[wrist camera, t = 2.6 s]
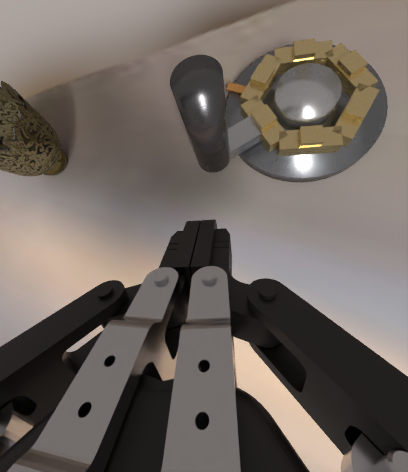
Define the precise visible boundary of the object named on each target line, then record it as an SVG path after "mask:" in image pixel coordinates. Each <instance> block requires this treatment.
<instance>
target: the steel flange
mask: <svg viewBox="0 0 408 472" xmlns="http://www.w3.org/2000/svg"><path fill="white" fill-rule="evenodd" d="M290 46H293V45H288V46H284V47H290ZM332 47H333V48H334V47H335V46H334V45H332ZM281 48H283V47H281ZM350 52H351V51H350ZM267 54H269V55H272V56H273V55H274V50H273V51H271V52H269V53H267ZM265 55H266V54H265ZM265 55H263V56H261V57H260V58H258V59H257V60H256V61H254V62H253V63H252V64H250V65H249V66H248V67H247V68H246V69H245V70H244V71H243V72H242V73H241V75H240V76H239V77H238V79H237V80H236V82H235V83H232V82H229V84H228V86H227V88H226V90H229V91H230V94H229V97H228V100H227V105H226V115H227V127H228V129H229V128H230V127H232V126H234V125H235V124H237V123H239V122H240V121H242V120H243V119H244V118H243V117H242V115H241V106H240V97H241V95H242V93H243V92H244V90H245V88H246V87H247V85H248V83H249V82H250V78H251V76H252V74H253V73H254V71H255V69H256V68H257V66H258V65H259V63H261V62H262V60H263V59H264V57H265ZM366 68H367V69H368V70H369V72H370V73H371V74H372V75H373V76H374V77H375V78H376V79H377V80H378V82H377V84H376V85H375V86H374V88H377V89H380V90H379V92H378V94H377V96H376V98H375V99H374V101H373V103H372V105H371V107H370V109H369V110H368V112H367V114H366V116H365V118H364V119H363V121H362V123H361V125H360V127H359V129H358V130H357V132H356V134H355V136H354V138H353V139H352V141H351V142H350V143H349V144H348V145H347V147H344V146H342V147H341V148H340V149H339V151H338V152H335V153H321V154H307V155H293V156H279V157H278V155H277V148H276V149H274V150H273V151H271V152H268V151H267V150H266V148H265V147H264V146H263V144H262V143H261V141H260V142H258V143H257V144H255V145H253V146H252V147H250V148H248V149H247V150H245V151H243V152H242V153H240V154H238V155H239V156H240V158H241V159H242V160H243V161H244V162H245V163H246V164H248V165H249V166H250V167H252V168H253V169H254V170H256V171H258V172H260V173H261V174H263V175H266V176H268V177H271V178H274V179H278V180H282V181H289V182H310V181H317V180H321V179H325V178H328V177H331V176H334V175H336V174H338V173H340V172H342V171H344V170H346V169H347V168H349V167H350V166H352V165H353V164H355V163H356V162H357V161H358V160H359V159H360V158H361V157H362V156H363V155H365V154H366V153H367V152H368V150H369V149H370V148H371V147H372V146H373V145H374V144H375V142H376V140H377V139H378V137H379V136H380V134H381V132H382V129H383V127H384V124H385V121H386V117H387V108H388V106H387V96H386V92H385V88H384V86H383V83H382V81H381V79H380V77H379V76H378V74H377V73H376V71H375V70H374V69H373V68H372V67H371V66H370V65H369V64H367V66H366ZM349 99H350V98H349V97H348V96H347V95H346V94H345V93H344V92H343V90H342V85H341V81H340V79H339V77H338V75H337V74H336V73H335V72H334V71H333V70H332V69H330V68H329V67H327V66H324V65H321V64H316V63H306V64H301V65H297V66H295V67H293V68H291V69H289V70H288V71H286V72H285V73H284V74H280V75H278V77H277V78H276V80H275V82H274V83H273V85H272V87H271V89H270V90H269V92H268V94H267V95H266V97H265V99H264V100H263V103H264V105H266V104H267V105H268V107H269V108H270V109H271V110H272V112H273V113H274V114H275V116H276V117H277V121H278V123H279V124H280V125H281V126H282V128H283V129H284V130H285V131H288V130H299V129H300V127H304V126H315V125H322V126H323V127H333V126H335V124H336V122H337V120H338V119H339V117H340V115H341V113H342V111H343V110H344V108H345V106H346V104H347V102H348V101H349Z"/></svg>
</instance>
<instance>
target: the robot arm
mask: <svg viewBox="0 0 408 472" xmlns="http://www.w3.org/2000/svg"><path fill="white" fill-rule="evenodd" d="M100 325H102V326H103V328H104V330H103V331H102V332H100V333H99V334H98V335H96V336H95V337H94V338H92V339H91V340H90V341H88V342H87V343H86V344H84V345H83V346H82V347H80V348H79V349H78V350H76V351H74V352H66V350H67V349H68V348H70V347H71V346H72V345H74V344H75V343H76V342H78V341H79V340H80V339H82V338H83V337H85V336H86V335H87V334H89V333H90V332H91V331H93V330H94V329H95V328H97V327H98V326H100ZM233 336H234V337H236V338H239V339H242V340H244V341H247V342H249V343H250V345H251V347H252V348H253V350H254V351H255V352H256V353H257V354H258V356H259V357H260V358H261V359H262V360H263V361H264V363H265V364H266V365H267V366H268V367H269V368H270V370H271V371H272V372H273V373H274V374H275V375H276V377H277V378H278V379H279V380H280V381H281V382H282V384H283V385H284V386H285V387H286V388H287V389H288V391H289V392H290V393H291V394H292V395H293V396H294V398H295V399H296V400H297V401H298V402H299V403H300V405H301V406H302V407H303V408H304V409H305V410H306V412H307V413H308V414H309V415H310V416H311V417H312V419H313V420H314V421H315V422H316V423H317V424H318V426H319V427H320V428H321V429H322V430H323V431H324V433H325V434H326V435H327V436H328V437H329V438H330V440H331V441H332V442H333V443H334V444H335V445H336V447H337V448H338V449H339V450H340V451H341V452H342V454H343V455H344V456H343V459H342V463H341V472H408V377H407V376H406V375H405V374H403V373H402V372H401V371H399V370H398V369H397V368H395V367H394V366H393V365H391V364H390V363H388V362H387V361H386V360H384V359H383V358H382V357H380V356H379V355H378V354H376V353H375V352H374V351H372V350H371V349H370V348H368V347H367V346H365V345H364V344H363V343H361V342H360V341H359V340H357V339H356V338H355V337H353V336H352V335H351V334H349V333H348V332H347V331H345V330H344V329H342V328H341V327H340V326H338V325H337V324H336V323H334V322H333V321H332V320H330V319H329V318H328V317H326V316H325V315H324V314H322V313H321V312H319V311H318V310H317V309H315V308H314V307H313V306H311V305H310V304H309V303H307V302H306V301H305V300H303V299H302V298H300V297H299V296H298V295H296V294H295V293H294V292H292V291H291V290H290V289H288V288H287V287H286V286H284V285H283V284H281V283H280V282H278V281H276V280H273V279H258V280H256V281H254V282H252V283H251V284H250V285H249V284H245V283H241V282H239V281H237V280H235V279H234V278H233V277H232V254H231V242H230V234H229V232H228V231H227V229H217V224H216V220H202V221H187V222H186V224H185V227H184V230H183V231H177V232H176V233H175V234H174V235H173V236H172V237H171V239H170V242H169V245H168V247H167V250H166V251H165V254H164V256H163V259H162V261H161V264H160V266H159V268H158V269H156V270H154V271H152V272H151V273H149V274H148V275H147V276H146V278H145V280H144V282H143V283H142V284H139V285H136V286H132V287H128V288H125V287H124V285H123V284H122V283H121V282H120V281H116V280H112V281H107V282H104V283H102V284H100V285H98V286H97V287H95V288H94V289H92V290H90V291H89V292H87V293H86V294H84V295H82V296H81V297H79V298H78V299H76V300H74V301H73V302H71V303H70V304H68V305H66V306H65V307H63V308H62V309H60V310H58V311H57V312H55V313H54V314H52V315H51V316H49V317H47V318H46V319H44V320H43V321H41V322H39V323H38V324H36V325H35V326H33V327H31V328H30V329H28V330H27V331H25V332H23V333H22V334H20V335H19V336H17V337H15V338H14V339H12V340H11V341H9V342H8V343H6V344H4V345H3V346H1V347H0V472H309V470H308V469H307V467H306V466H305V464H304V463H303V461H302V460H301V458H300V457H299V456H298V454H297V453H296V451H295V450H294V448H293V447H292V445H291V444H290V442H289V441H288V439H287V438H286V437H285V435H284V434H283V432H282V431H281V429H280V428H279V426H278V425H277V423H276V422H275V420H274V419H273V418H272V416H271V415H270V414H269V412H268V411H267V410H266V409H265V408H264V407H263V406H262V405H261V404H260V403H259V402H258V401H257V400H256V399H255V398H254V397H252V396H251V395H250V394H248V393H247V392H245V391H243V390H241V389H239V388H237V377H236V366H235V353H234V340H233Z"/></svg>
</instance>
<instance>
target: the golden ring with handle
mask: <svg viewBox="0 0 408 472" xmlns="http://www.w3.org/2000/svg"><path fill="white" fill-rule="evenodd" d="M306 63H316V64H321V65H324V66H327V67H329V68H330V69H332V70H333V71H334V72H335V73H336V74H337V75H338V77H339V79H340V81H341V85H342V90H343V92H344V93H345V94H346V95H347V96H348V97H349V98H350V99H349V101H348V102H347V104H346V106H345V108H344V110H343V111H342V113H341V115H340V117H339V119H338V120H337V122H336V124H335V126H333V127H323V126H322V125H315V126H304V127H300V129H299V130H288V131H285V130H284V129H283V128H282V126H281V125H280V124H279V123H278V121H277V117H276V116H275V114H274V113H273V112H272V110H271V109H270V108H269V107H268V105H267V104H266V105H264V103H263V100H264V99H265V97H266V95H267V94H268V92H269V90H270V89H271V87H272V85H273V83H274V82H275V80H276V78H277V77H278V75H280V74H284V73H285V72H286V71H288V70H289V69H291V68H293V67H295V66H297V65H301V64H306ZM367 64H368V63H367V62H366V61H365V60H364V59H363V58H362V57H361V56H360V55H359V54H358V53H357V52H356V51H355V50H354V51H352V52H350V51H349V50H348V49H347V48H346V47H345V46H344V45H343V44H342V43H340V44H339V45H337V46H335V47H334V48H333V47H332V40H330V41H323V42H317V43H315V40H314V39H307V40H301V41H294V44H293V46H290V47H283V48H276V49H274V55H273V56H272V55H269V54H266V55H265V57H264V59H263V60H262V62H261V63H259V65H258V66H257V68H256V69H255V71H254V73H253V74H252V76H251V78H250V82H249V83H248V85H247V87H246V88H245V90H244V92H243V93H242V95H241V97H240V106H241V115H242V117H243V118H244V119H243V120H242V121H240V122H239V123H237V124H235V125H234V126H232V127H230V128H229V129H228V127H227V115H226V103H225V92H224V80H223V70H222V67H221V65H220V63H219V62H218V61H217V60H216V59H214V58H213V57H210V56H207V55H195V56H191V57H189V58H186V59H185V60H183V61H182V62H180V63H179V64H178V65H177V66H176V67H175V69H174V70H173V72H172V75H171V78H170V86H171V89H172V92H173V95H174V97H175V100H176V103H177V106H178V108H179V111H180V114H181V116H182V119H183V122H184V125H185V127H186V130H187V133H188V135H189V138H190V141H191V144H192V146H193V149H194V152H195V154H196V157H197V160H198V162H199V165H200V167H201V168H202V169H203V170H205V171H207V172H218V171H221V170H222V169H224V168H225V167H226V166H227V164H228V163H229V160H230V159H232V158H233V157H235V156H237V155H238V154H240V153H242V152H243V151H245V150H247V149H248V148H250V147H252V146H253V145H255V144H257V143H258V142H260V141H261V143H262V144H263V146H264V147H265V148H266V150H267V151H268V152H271V151H273V150H274V149H276V148H277V155H278V157H279V156H293V155H307V154H321V153H335V152H338V151H339V149H340V148H341V147H342V146H344V147H347V145H348V144H349V143H350V142H351V141H352V139H353V138H354V136H355V134H356V132H357V130H358V129H359V127H360V125H361V123H362V121H363V119H364V118H365V116H366V114H367V112H368V110H369V109H370V107H371V105H372V103H373V101H374V99H375V98H376V96H377V94H378V92H379V90H380V89H377V88H374V86H375V85H376V84H377V82H378V80H377V79H376V78H375V77H374V76H373V75H372V74H371V73H370V72H369V70H368V69H367V68H366V66H367Z"/></svg>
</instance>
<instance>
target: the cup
mask: <svg viewBox="0 0 408 472" xmlns="http://www.w3.org/2000/svg"><path fill="white" fill-rule="evenodd" d="M1 86H2V87H0V170H3V171H6V172H9V173H13V174H17V175H22V176H38V175H41V174H44V175H57V174H59V173H60V172H62V171H63V170H64V168H65V166H66V164H67V157H66V154H65V152H64V151H63V150H62V149H61V146H60V141H59V138H58V136H57V134H56V132H55V131H54V130H53V128H52V127H51V126H50V125H49V123H48V122H47V121H46V120H45V119H44V118H43V117H42V116H41V115H40V114H39V113H38V112H37V111H36V110H35V109H34V108H33V107H32V106H31V105H30V104H29V103H28V102H27V101H26V100H25V99H24V98H23V97H22V96H21V95H19V94H18V92H17V91H16V90H15V89H13V88H12V87H11V86H10V85H8V84H7V83H5V82H3V81H1Z"/></svg>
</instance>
